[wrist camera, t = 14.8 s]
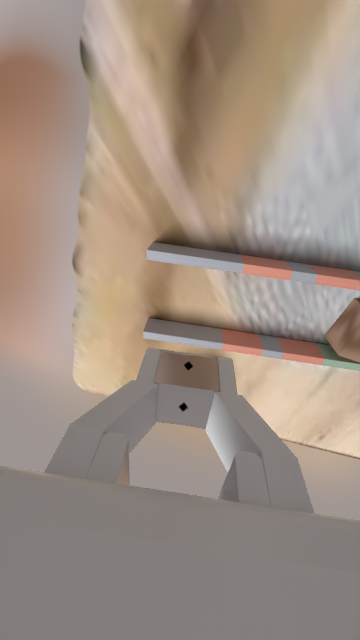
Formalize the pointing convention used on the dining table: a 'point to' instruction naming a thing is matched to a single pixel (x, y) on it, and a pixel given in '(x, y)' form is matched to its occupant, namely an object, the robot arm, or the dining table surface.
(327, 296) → the dining table surface
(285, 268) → the frame
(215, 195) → the dining table surface
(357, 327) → the walnut block
